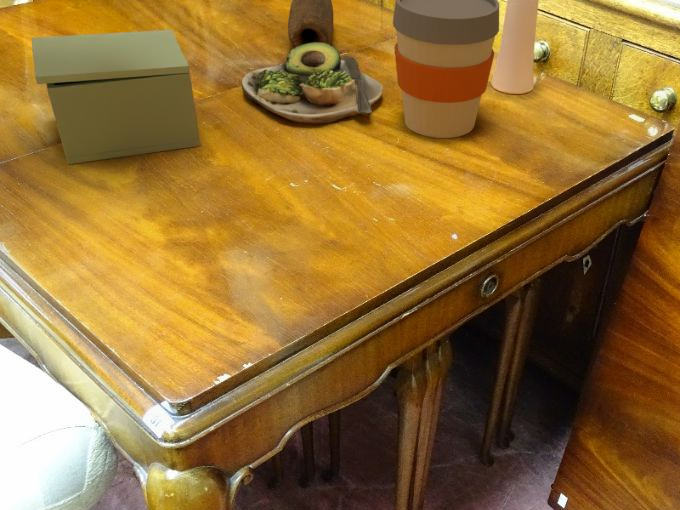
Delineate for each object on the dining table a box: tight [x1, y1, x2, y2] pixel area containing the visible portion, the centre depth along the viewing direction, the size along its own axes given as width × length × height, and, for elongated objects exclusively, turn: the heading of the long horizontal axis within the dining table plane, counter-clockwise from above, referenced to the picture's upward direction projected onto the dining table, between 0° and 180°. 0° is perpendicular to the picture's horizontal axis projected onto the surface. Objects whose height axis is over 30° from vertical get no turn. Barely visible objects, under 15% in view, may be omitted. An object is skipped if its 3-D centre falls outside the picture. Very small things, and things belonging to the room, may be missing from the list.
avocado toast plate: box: [241, 42, 384, 125], centre depth 101 cm, size 19×18×5 cm
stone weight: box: [287, 0, 334, 49], centre depth 116 cm, size 15×7×7 cm, turn 9°
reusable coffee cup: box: [392, 0, 500, 139], centre depth 94 cm, size 13×12×15 cm
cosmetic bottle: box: [490, 0, 539, 95], centre depth 102 cm, size 6×6×22 cm
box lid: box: [30, 29, 191, 85], centre depth 86 cm, size 15×12×1 cm
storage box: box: [46, 72, 202, 165], centre depth 89 cm, size 15×12×9 cm
